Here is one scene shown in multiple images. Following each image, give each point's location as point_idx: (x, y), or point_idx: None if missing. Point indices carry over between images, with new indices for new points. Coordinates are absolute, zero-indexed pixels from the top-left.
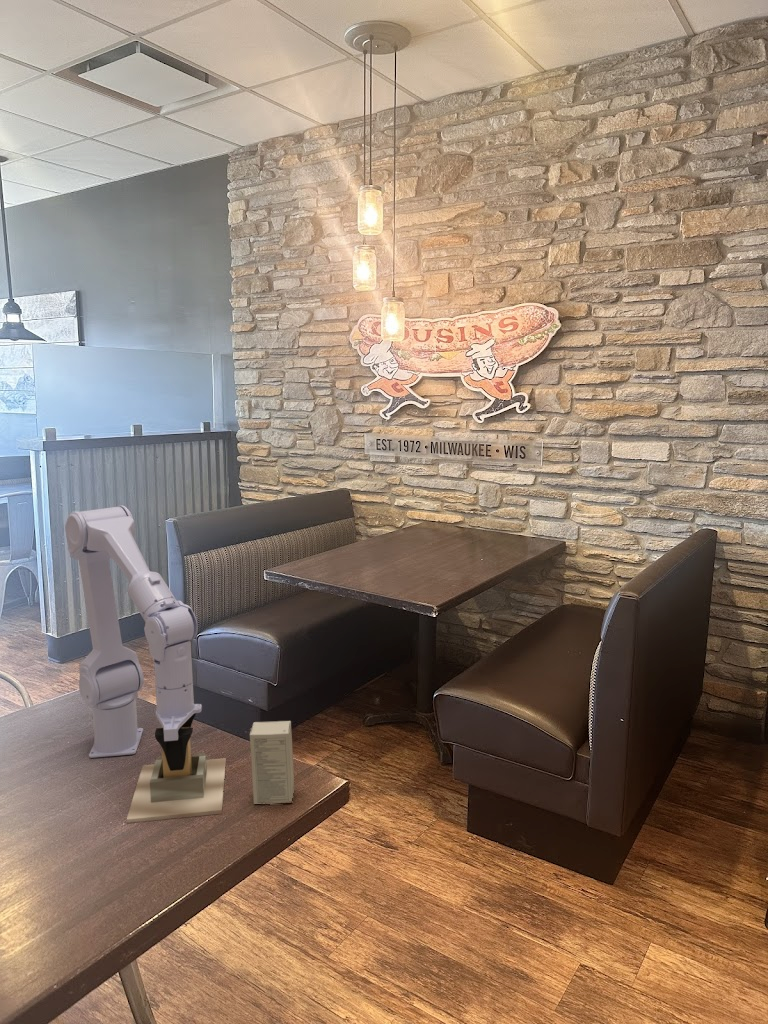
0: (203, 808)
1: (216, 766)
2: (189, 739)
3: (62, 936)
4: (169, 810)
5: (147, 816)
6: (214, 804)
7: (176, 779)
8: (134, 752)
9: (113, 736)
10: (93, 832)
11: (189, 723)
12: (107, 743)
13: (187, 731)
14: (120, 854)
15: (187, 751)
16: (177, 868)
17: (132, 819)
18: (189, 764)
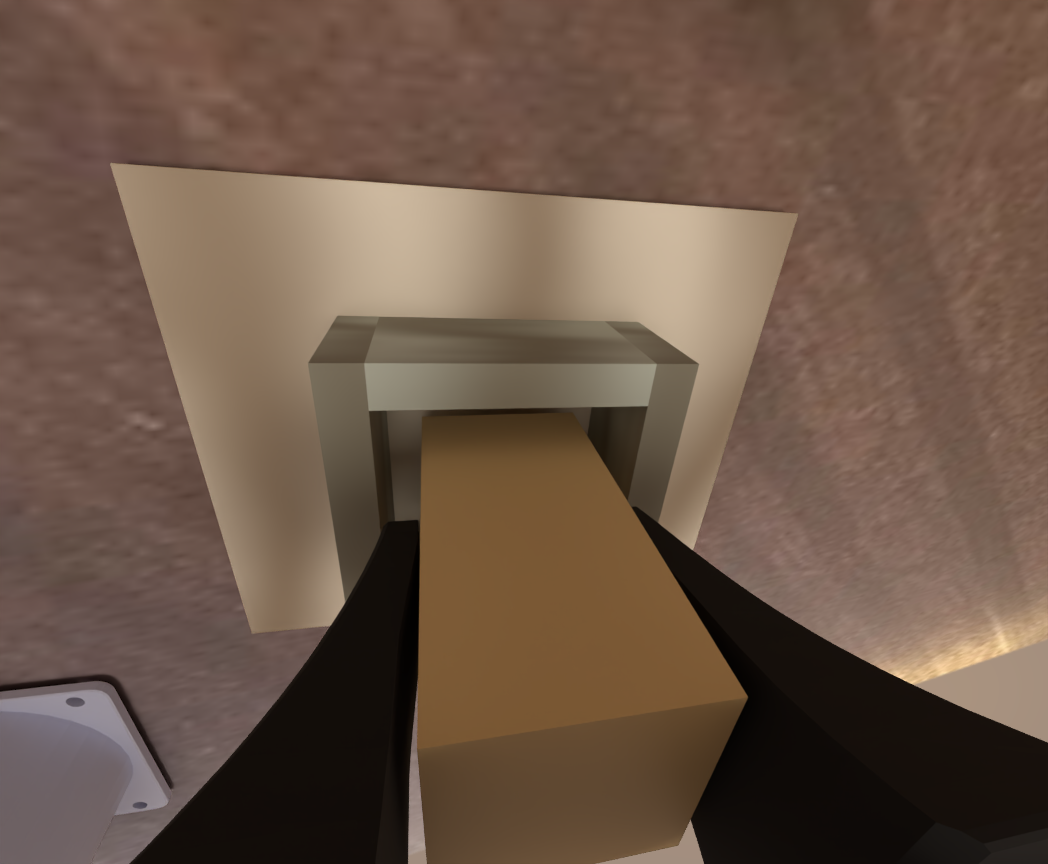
0: (737, 316)
1: (265, 247)
2: (499, 612)
3: (1034, 592)
4: (685, 465)
5: (694, 534)
6: (730, 256)
7: (653, 510)
8: (103, 689)
9: (72, 853)
10: None
11: (387, 799)
12: (105, 823)
13: (1044, 860)
14: (829, 557)
15: (665, 570)
16: (1010, 386)
17: None
18: (578, 477)
